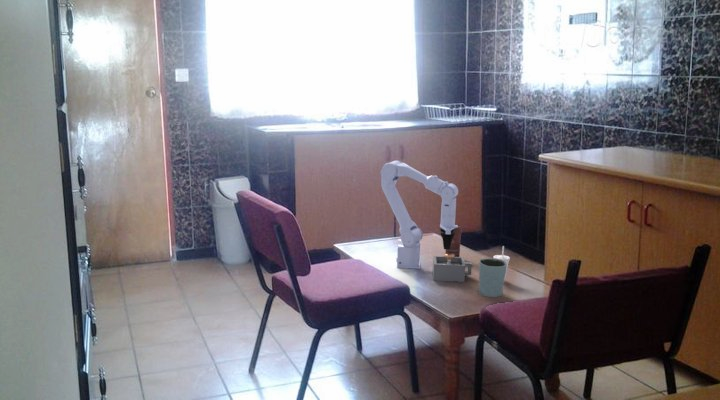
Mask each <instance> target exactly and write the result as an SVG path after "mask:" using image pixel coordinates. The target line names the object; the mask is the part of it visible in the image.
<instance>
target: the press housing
mask: <svg viewBox="0 0 720 400" xmlns="http://www.w3.org/2000/svg"><path fill="white" fill-rule="evenodd" d="M437 262H444V263H447V262H448V259H446V258H444V255H443V256H441V255H433V259H432V280H433V281H439V282H453V281H458V282H459V283H465V281H466V280H465V279H466V277H465V276H472V267H473V264H472V262H471V261H470V262H469V261H465V258H464V257H463V256H459V257H454V259H451V263H459V264H460V265H452V264H437ZM466 266H467V270H466ZM458 282H457V283H458Z"/></svg>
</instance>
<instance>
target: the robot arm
mask: <svg viewBox="0 0 720 400" xmlns="http://www.w3.org/2000/svg"><path fill="white" fill-rule="evenodd" d="M379 173H380V176H381V179H380V180H381V184H380V186H381V189H382V191H383V193H384V196H385V198H386V200H387V202H388V204H389V206H390V208H391V211H392V212H393V214H394V217H395V219H396V221H397V223H398V225H399V228H398V229H399V231H398V232H399V234H400V240H401V243H402V244H401V243H400V244H397V255H396V260H395V261H396V268H397V269H416V270H417V269H419V270H420V269H421V262H420V258H421V257H420V256H421V243H420V242H421V240H422V239H423V235H424V234H423V231H422V230H421V228H419V226H418V225H417V224H416V222H414V221H413V220H412V217H411V216H410V214H409V212H408V210H407V208H406V205H405V204H404V201H403V199H402V197H401V195H400V194H399V191H398V189H397V187H396V184H397V181H398V180H399V178H400V177H408V178H410V179H413V180H415V181H417V182H419V183H422V184H423V185H424V188H425V189H427V190H428V191H431V192H433V193H435V194H436V195H438V196H440V198H441V209H440V224H439V230H440V236H441V239H442V245H443V249H444V250H446V249H447V250H449V249H450V245H451V241H452V238H453V237H454V235H455V233H453V231H454V228H458V224H456V212H457V211H456V210H457V196H458V195H459V188H458V186H457V185H456V184H455V183H449V181H444V180H443V179H440V178H439V176H438V175H426V174H424V173H423V172H421V171H419V170H417V169H415V168H413V167H412V166H410V165H408V164H407V163H406V162H402V161H401V160H396V159H395V160H393V161H391V162H388V163H387V162H386V163H384V165H383V166H382V168H381V170H380V172H379Z"/></svg>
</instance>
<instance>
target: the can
mask: <svg viewBox="0 0 720 400" xmlns="http://www.w3.org/2000/svg"><path fill="white" fill-rule="evenodd" d="M457 225H458V224H457ZM462 232H463V231H462V227H461V225H458V228H454V231H453V233H455V235H454V237H453V238H452V241H451V245H450V249H449V250H447V249H445V253H444V254H446V253H452V254H454V255H455V256H454V257H461V256H460V253H461V238H462V237H461V236H462Z"/></svg>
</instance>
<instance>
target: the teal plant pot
mask: <svg viewBox="0 0 720 400" xmlns="http://www.w3.org/2000/svg"><path fill="white" fill-rule="evenodd" d="M478 262H479V263H478V264H479V265H478V271H479V272H478V294H479V295H481V296H483V295H484V297H487V296H488V298H496V297H497V298H498V296H499V297H501V296H502V295H503V291H504V283H505V282H504V278H505V273H506V268H507V263H506V262H505V261H502V260H499V259H493V258H482V259H480V260H479V261H478ZM507 269H508V268H507ZM506 274H507V273H506ZM505 279H506V278H505Z"/></svg>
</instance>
